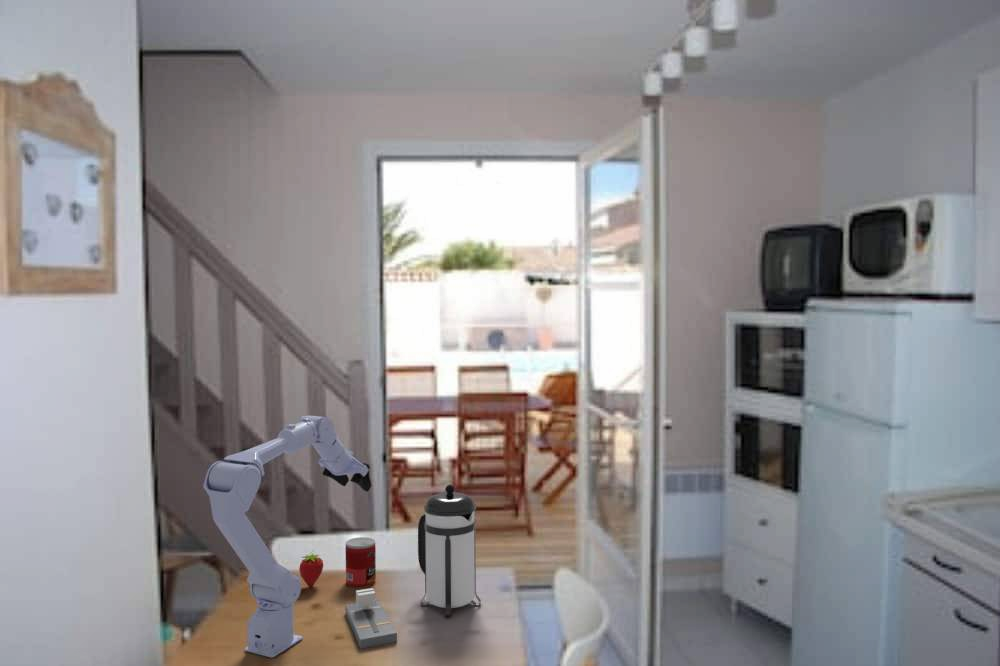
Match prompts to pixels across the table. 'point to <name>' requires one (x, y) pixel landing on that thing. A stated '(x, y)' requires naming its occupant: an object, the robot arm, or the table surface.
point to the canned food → (360, 562)
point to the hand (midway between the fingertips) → (357, 485)
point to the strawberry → (311, 569)
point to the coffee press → (448, 550)
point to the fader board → (371, 625)
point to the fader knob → (365, 598)
